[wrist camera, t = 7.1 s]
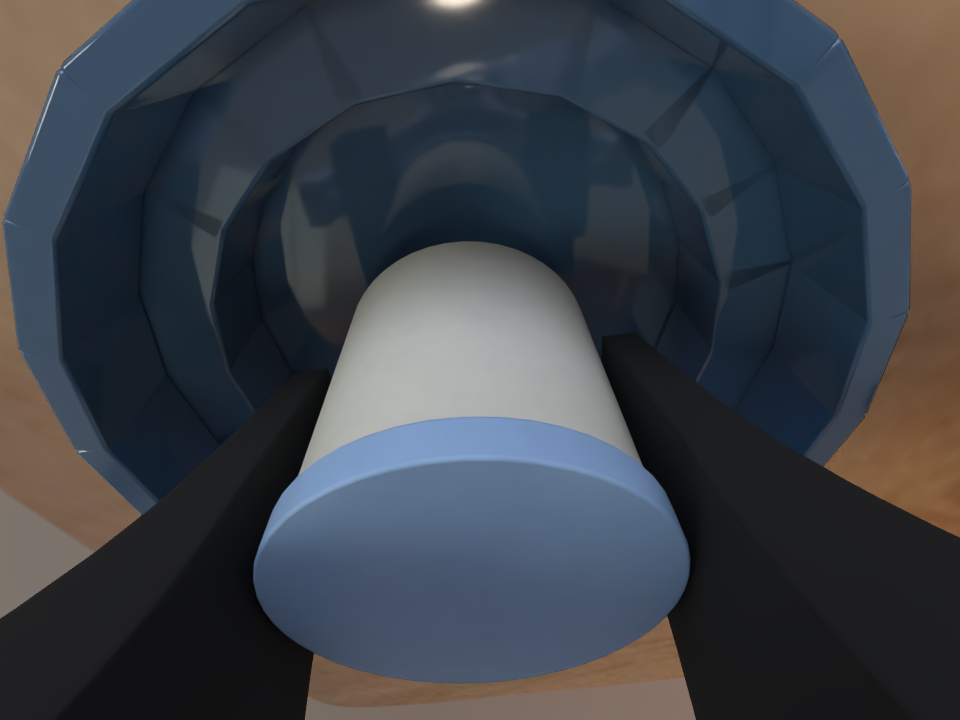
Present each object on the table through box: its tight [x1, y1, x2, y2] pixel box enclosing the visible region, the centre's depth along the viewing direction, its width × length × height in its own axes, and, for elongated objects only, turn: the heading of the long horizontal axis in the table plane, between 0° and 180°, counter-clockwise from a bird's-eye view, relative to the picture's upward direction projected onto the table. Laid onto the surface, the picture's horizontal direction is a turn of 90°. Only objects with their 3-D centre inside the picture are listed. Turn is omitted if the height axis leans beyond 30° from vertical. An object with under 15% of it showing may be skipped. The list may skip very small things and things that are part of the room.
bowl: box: [3, 0, 911, 515], centre depth 11 cm, size 14×14×5 cm
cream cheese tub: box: [253, 241, 691, 683], centre depth 8 cm, size 6×6×6 cm
